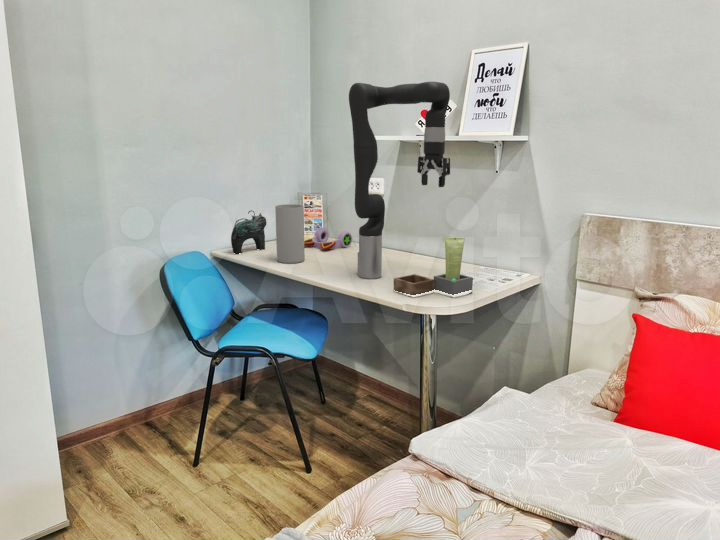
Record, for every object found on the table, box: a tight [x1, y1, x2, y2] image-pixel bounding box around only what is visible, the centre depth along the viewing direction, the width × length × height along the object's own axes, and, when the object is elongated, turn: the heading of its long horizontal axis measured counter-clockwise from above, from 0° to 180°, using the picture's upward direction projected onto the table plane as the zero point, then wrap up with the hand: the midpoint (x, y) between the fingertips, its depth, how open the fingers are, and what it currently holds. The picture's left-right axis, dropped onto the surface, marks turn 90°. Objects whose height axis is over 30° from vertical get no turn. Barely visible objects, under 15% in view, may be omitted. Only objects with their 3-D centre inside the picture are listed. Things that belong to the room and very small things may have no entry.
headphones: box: [304, 227, 353, 251], centre depth 287 cm, size 20×10×20 cm
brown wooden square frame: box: [393, 273, 435, 295], centre depth 206 cm, size 10×10×5 cm
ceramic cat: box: [230, 210, 267, 255], centre depth 274 cm, size 20×6×20 cm, turn 139°
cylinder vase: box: [275, 203, 306, 264], centre depth 253 cm, size 12×12×25 cm
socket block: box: [433, 273, 474, 295], centre depth 205 cm, size 10×10×7 cm
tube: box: [444, 237, 466, 280], centre depth 204 cm, size 6×5×20 cm
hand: (432, 186), depth 205 cm, fingers open, 8 cm apart
